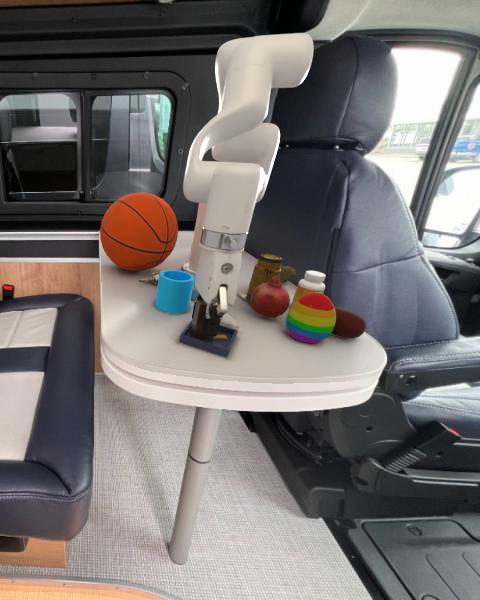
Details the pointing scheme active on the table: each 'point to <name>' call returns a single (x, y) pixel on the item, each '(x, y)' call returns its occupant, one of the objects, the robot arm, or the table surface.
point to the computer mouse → (155, 278)
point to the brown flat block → (197, 321)
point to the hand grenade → (286, 273)
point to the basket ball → (139, 231)
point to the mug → (174, 291)
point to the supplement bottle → (309, 285)
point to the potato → (348, 324)
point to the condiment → (263, 272)
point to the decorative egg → (311, 318)
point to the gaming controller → (229, 322)
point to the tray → (211, 346)
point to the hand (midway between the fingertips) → (203, 326)
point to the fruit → (270, 299)
